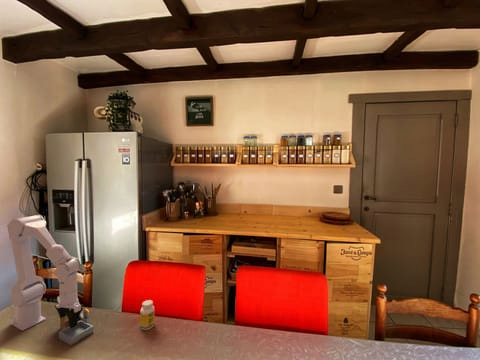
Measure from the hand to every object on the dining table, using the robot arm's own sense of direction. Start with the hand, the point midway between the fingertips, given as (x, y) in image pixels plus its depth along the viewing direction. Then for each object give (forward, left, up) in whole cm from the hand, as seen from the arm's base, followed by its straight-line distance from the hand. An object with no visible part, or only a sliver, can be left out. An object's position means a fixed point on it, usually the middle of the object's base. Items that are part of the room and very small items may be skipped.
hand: (68, 323), depth 93 cm
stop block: (0, 0, -2) cm, 2 cm away
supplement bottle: (+27, +15, -2) cm, 31 cm away
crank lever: (-1, +6, -2) cm, 6 cm away
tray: (+7, -1, -2) cm, 7 cm away
